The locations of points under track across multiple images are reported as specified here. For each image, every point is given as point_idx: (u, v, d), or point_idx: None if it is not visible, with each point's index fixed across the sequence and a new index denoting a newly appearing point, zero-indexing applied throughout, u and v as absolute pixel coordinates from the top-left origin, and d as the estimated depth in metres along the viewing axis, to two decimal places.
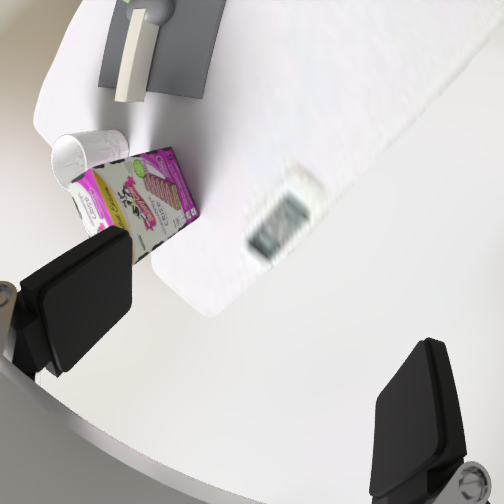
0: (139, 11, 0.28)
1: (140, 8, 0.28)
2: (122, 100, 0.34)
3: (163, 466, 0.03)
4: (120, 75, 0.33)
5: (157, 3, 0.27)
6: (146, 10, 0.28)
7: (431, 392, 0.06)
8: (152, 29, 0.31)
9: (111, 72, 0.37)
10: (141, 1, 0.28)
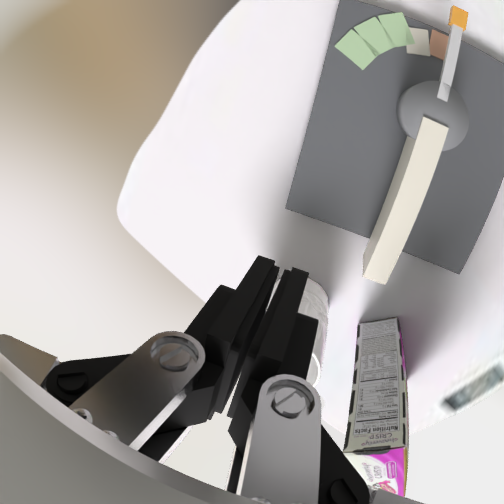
0: (432, 124, 0.17)
1: (434, 120, 0.17)
2: (379, 280, 0.23)
3: (163, 466, 0.03)
4: (383, 239, 0.22)
5: None
6: (446, 130, 0.17)
7: None
8: None
9: (320, 192, 0.26)
10: (437, 105, 0.17)
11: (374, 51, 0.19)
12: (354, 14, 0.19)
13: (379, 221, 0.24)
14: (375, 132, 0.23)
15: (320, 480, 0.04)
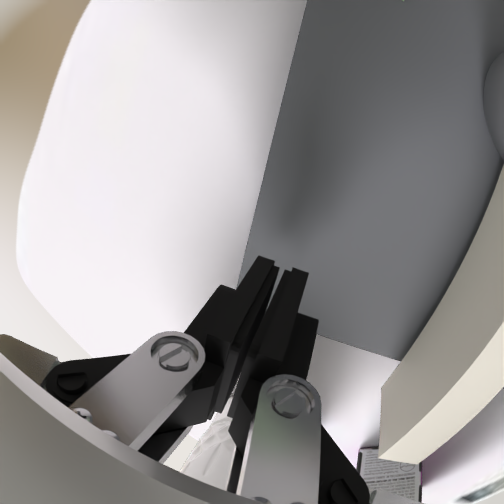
0: None
1: None
2: (408, 461, 0.09)
3: (163, 466, 0.03)
4: (437, 412, 0.08)
5: None
6: None
7: None
8: None
9: None
10: None
11: None
12: None
13: (427, 348, 0.10)
14: (436, 146, 0.09)
15: (320, 480, 0.04)
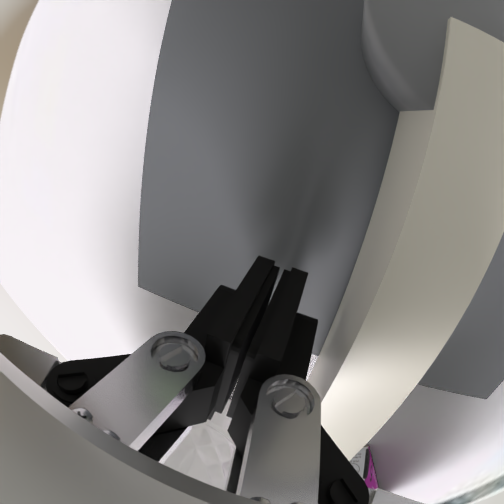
0: (489, 52, 0.03)
1: (492, 37, 0.03)
2: None
3: (163, 466, 0.03)
4: (324, 417, 0.07)
5: None
6: None
7: (267, 305, 0.08)
8: None
9: (191, 260, 0.12)
10: None
11: None
12: None
13: (330, 342, 0.10)
14: (308, 106, 0.09)
15: (319, 480, 0.04)
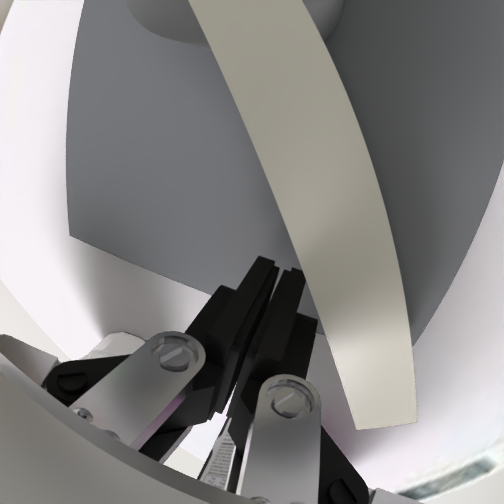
0: None
1: None
2: (398, 422, 0.08)
3: (163, 466, 0.03)
4: (344, 354, 0.07)
5: None
6: None
7: (267, 305, 0.08)
8: None
9: (99, 206, 0.14)
10: None
11: None
12: None
13: None
14: (162, 68, 0.10)
15: (319, 480, 0.04)
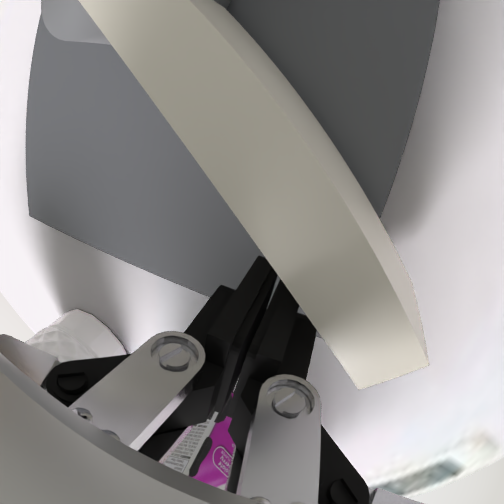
0: None
1: None
2: (404, 369, 0.07)
3: (163, 466, 0.03)
4: (300, 285, 0.07)
5: None
6: None
7: (268, 305, 0.08)
8: (220, 10, 0.07)
9: (49, 187, 0.14)
10: None
11: None
12: None
13: None
14: (94, 63, 0.10)
15: (320, 480, 0.04)
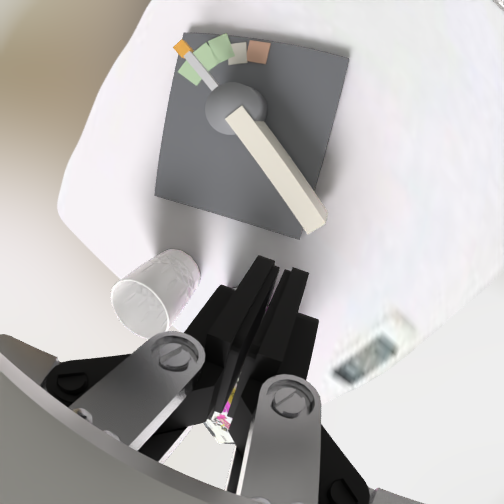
0: (234, 115, 0.26)
1: (232, 112, 0.26)
2: (319, 225, 0.28)
3: (163, 466, 0.03)
4: (288, 201, 0.28)
5: (250, 90, 0.25)
6: (243, 107, 0.26)
7: None
8: (265, 127, 0.28)
9: (175, 181, 0.35)
10: (224, 103, 0.26)
11: None
12: (192, 44, 0.28)
13: None
14: (207, 130, 0.32)
15: (320, 480, 0.04)
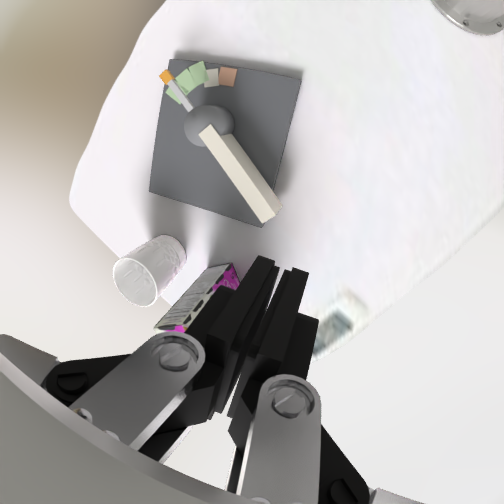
0: (205, 131, 0.34)
1: (204, 129, 0.34)
2: (270, 216, 0.36)
3: (163, 466, 0.03)
4: (246, 197, 0.36)
5: (217, 111, 0.33)
6: (212, 125, 0.34)
7: None
8: (231, 139, 0.36)
9: (164, 180, 0.43)
10: (198, 122, 0.34)
11: (186, 91, 0.37)
12: (176, 69, 0.36)
13: None
14: None
15: (320, 480, 0.04)
